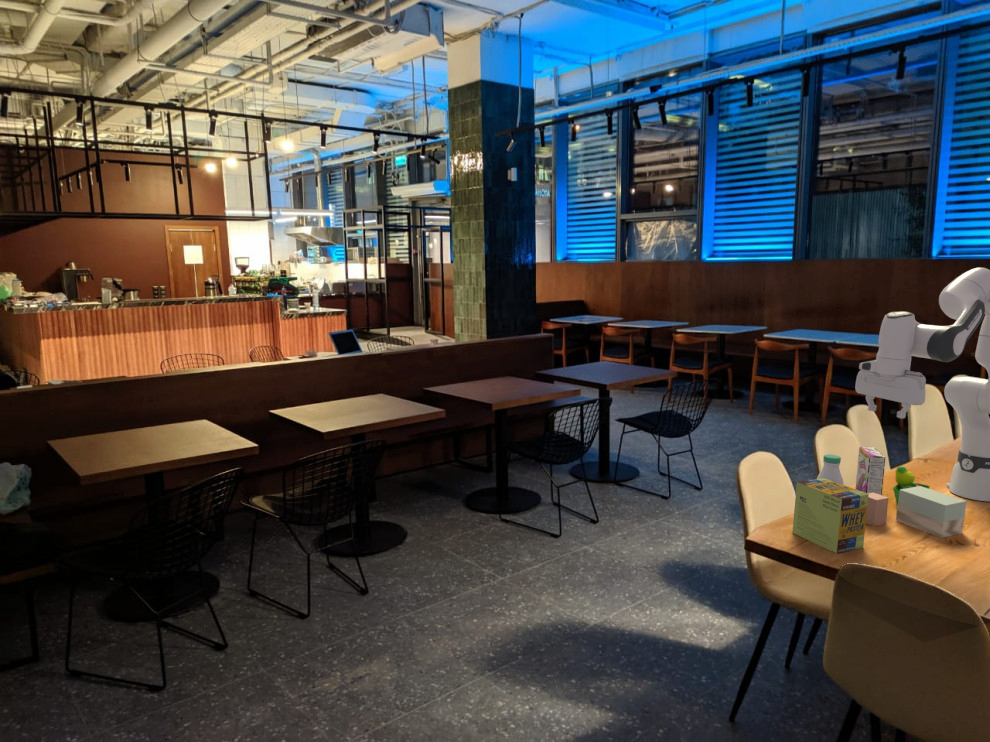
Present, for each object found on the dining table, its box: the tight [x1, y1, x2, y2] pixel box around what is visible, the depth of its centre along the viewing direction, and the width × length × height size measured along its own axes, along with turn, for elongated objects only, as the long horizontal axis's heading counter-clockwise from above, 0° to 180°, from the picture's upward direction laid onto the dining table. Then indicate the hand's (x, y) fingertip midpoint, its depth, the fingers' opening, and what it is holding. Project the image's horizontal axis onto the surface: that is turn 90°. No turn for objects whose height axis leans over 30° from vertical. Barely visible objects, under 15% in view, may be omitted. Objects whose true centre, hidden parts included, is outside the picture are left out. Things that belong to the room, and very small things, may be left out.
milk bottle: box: [816, 453, 845, 485], centre depth 206 cm, size 8×8×20 cm
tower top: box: [897, 486, 967, 522], centre depth 202 cm, size 9×14×5 cm, turn 23°
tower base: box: [895, 505, 965, 539], centre depth 203 cm, size 9×14×5 cm, turn 23°
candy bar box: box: [855, 446, 886, 496], centre depth 224 cm, size 11×5×16 cm, turn 168°
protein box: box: [791, 478, 869, 554], centre depth 192 cm, size 10×15×16 cm
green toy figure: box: [892, 465, 931, 504], centre depth 223 cm, size 11×9×11 cm
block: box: [866, 492, 890, 527], centre depth 206 cm, size 5×5×8 cm
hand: (886, 414), depth 202 cm, fingers open, 8 cm apart
